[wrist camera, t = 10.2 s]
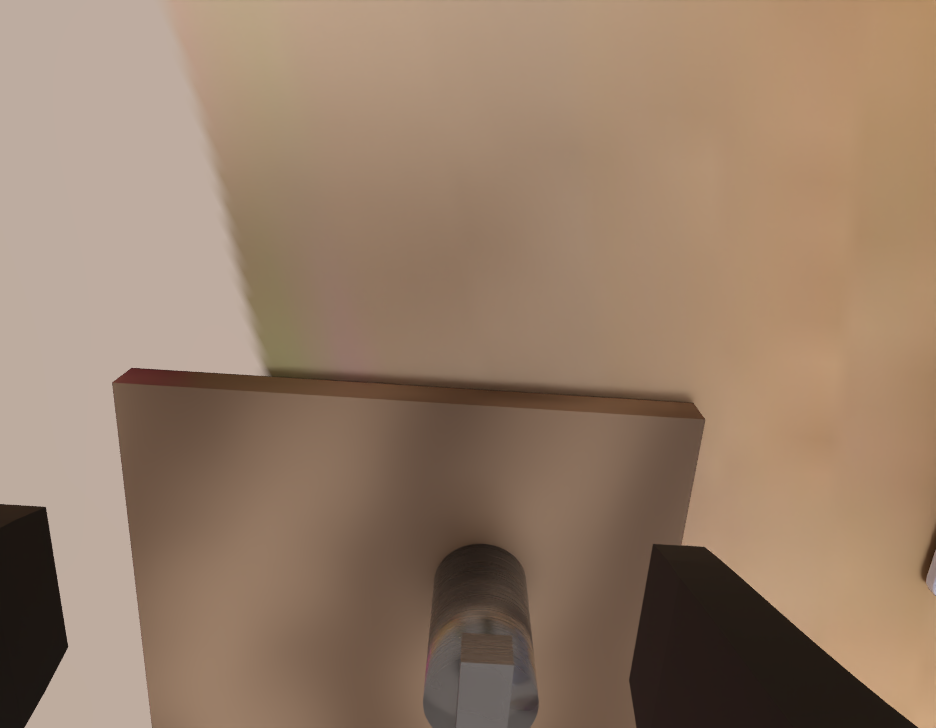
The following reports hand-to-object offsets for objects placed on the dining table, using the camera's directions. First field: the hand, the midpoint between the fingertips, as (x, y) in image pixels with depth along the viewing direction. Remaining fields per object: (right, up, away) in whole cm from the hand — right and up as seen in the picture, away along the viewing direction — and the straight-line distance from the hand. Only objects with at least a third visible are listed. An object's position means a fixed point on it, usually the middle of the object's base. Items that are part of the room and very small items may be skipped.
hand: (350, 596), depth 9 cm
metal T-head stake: (+2, -3, +10) cm, 11 cm away
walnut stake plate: (0, -3, +11) cm, 12 cm away
